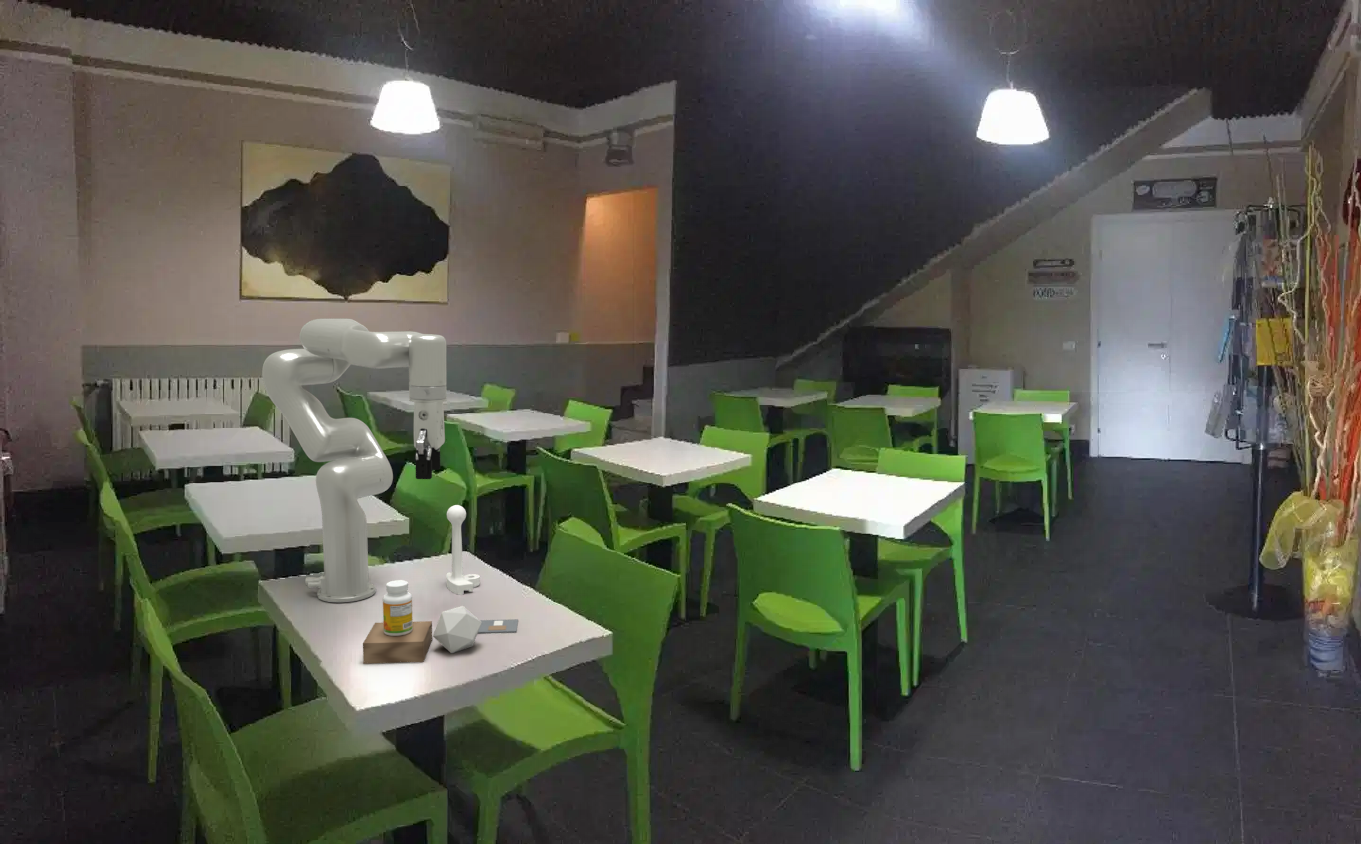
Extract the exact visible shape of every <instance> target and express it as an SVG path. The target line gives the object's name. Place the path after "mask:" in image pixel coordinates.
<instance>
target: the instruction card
mask: <svg viewBox="0 0 1361 844" xmlns="http://www.w3.org/2000/svg"><path fill="white" fill-rule="evenodd" d="M479 620H480V621H481V622H482V623H481V626H480V628H479V631H478V634H500V633H501V634H507V633H508V634H509V633H511V634H512V633H514V634H515V633H517V631H518V624H519V619H518V618H517V619H511V618H510V619H484V620H483V619H479ZM478 634H477V635H478Z"/></svg>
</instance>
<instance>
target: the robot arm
mask: <svg viewBox="0 0 1361 844" xmlns="http://www.w3.org/2000/svg"><path fill="white" fill-rule="evenodd" d="M298 336H299V341H300V342H299V343H300V344H301V346H302V347H303V348H291V349H289V348H288V349H284V350H278V351H276V352H273V353H271V354H270V355H268V356H267V357H266V359H265V360H264V363H263V365H262V369H261V370H262V372H261V373H262V375H261V376H262V383H263V386H264V389H265V392H266V394H267V396H268V397H269V399H270V400H271V402H272V403H273V404H274V406H276V409H278V411H280V413H281V415H282V416H283V417H284V418H285V420H286V421H287V424H288V426H289V427H290V429H291V431H292V432H293V434H294V436H295V438H296V439H297V441H298V443H299V444H300V446H301V448H302V450H303V452H304V453H305V455H306V456H307V457H308V458H309V459H310V460H311V461H313V462H315V463H324V464H323V465H322V466H321V467H320V468H319V469H318V470H317V473H316V476H315V485H316V491H317V493H318V498H319V502H320V511H321V523H322V545H323V546H322V547H323V548H322V551H323V573H324V574H323V575H320V576H319V577H315V576H310V577H309V576H307V577H306V578H305V579H304V580H305V582H304V583H305V586H308V587H307V588H309V589H311V588H318V589H319V590H318V591H317V598H318V599H319V600H320V601H324V602H329V603H351V602H357V601H362V600H365V599H368V598H370V597H372V596H373V595H375V594H376V591H377V589H376V588H377V587H376V585H375V584H373V583H371V582H369V557H368V556H369V553H368V551H369V550H368V549H369V548H368V547H369V545H368V522H367V515H366V513H365V511H364V509H363V508H362V506H361V505H360V503H359V501H358V500H359V499H361V498H365V497H371V496H376V495H379V494H382V493H384V492H385V491H387V490H388V489H389V488H390V487H391V485H392V484H393V479H394V474H393V469H392V466H391V464H390V461H389V460H388V458H387V456H386V454H385V453H384V450H383V449H382V447H381V445H380V444H379V442H378V440H377V439H376V438H375V435H374V434H373V432H372V431H371V429H370V428H369V426H368V424H366V423H364V422H363V420H360V419H358V418H356V417H343V418H334V417H331V416H330V415H329V413H328V412H327V411H326V408H325V407H324V405H323V403H322V402H321V401H320V400H319V399H318V398H317V397H316V396H315V395H313V394H312V393H311V392H309V391H308V390H306V389H305V388H304V387H303V386H309V385H321V384H322V385H323V384H329V383H334V382H335V381H336V380H339V378H340V377H342V376H343V374H344V373H345V372H346V371H347V369H349V368H350V366H351V365H352V366H357V367H363V368H369V369H391V368H407V367H408V389H409V390H408V391H409V392H408V396H409V397H408V399H409V402H413V404H414V405H413V446H414V448H415V449H416V450H415V451H416V452H415V479H417V480H431V479H432V478H433V471H439V470H440V469H441V447H442V445H444V444H445V441H446V434H445V431H446V430H445V412H444V409H445V408H444V402H446V401H447V340H446V337H444V336H443V335H440V334H431V333H421V332H418V331H409V330H408V331H407V330H406V331H370V330H369V329H368V328H367V327H366V326H365V325H363V324H361V323H360V322H358V321H356V320H354V319H352V318H317V319H316V318H315V319H312V320H310V321H308V322H307V323H305V324H304V325H302V327H301V330H300V332H299V335H298ZM325 462H326V463H325Z"/></svg>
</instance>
